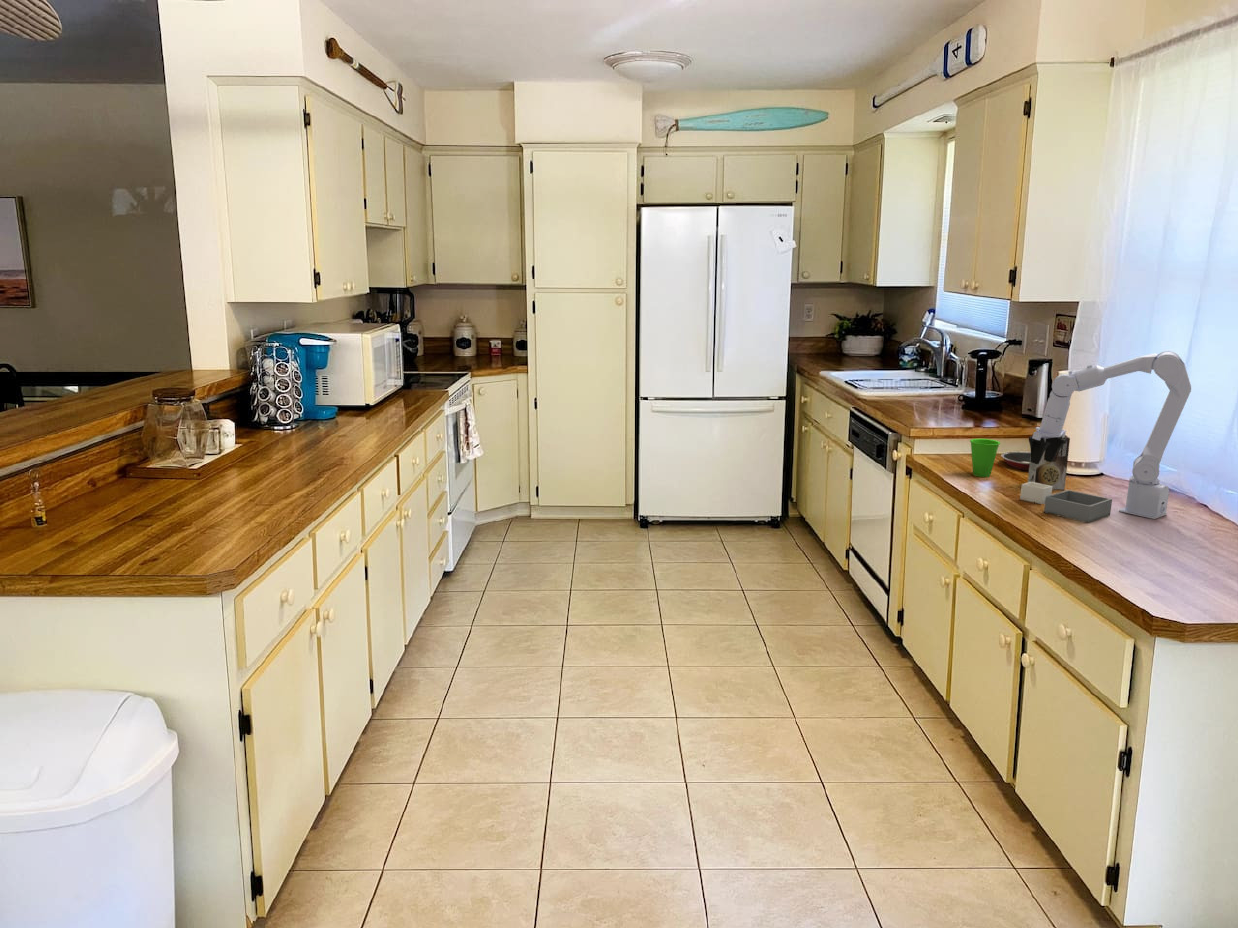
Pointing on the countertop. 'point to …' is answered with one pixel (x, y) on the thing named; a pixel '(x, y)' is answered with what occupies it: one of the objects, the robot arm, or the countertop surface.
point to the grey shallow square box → (1078, 505)
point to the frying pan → (1017, 459)
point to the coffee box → (1051, 469)
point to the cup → (983, 456)
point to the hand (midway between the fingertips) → (1041, 462)
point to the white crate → (1035, 492)
